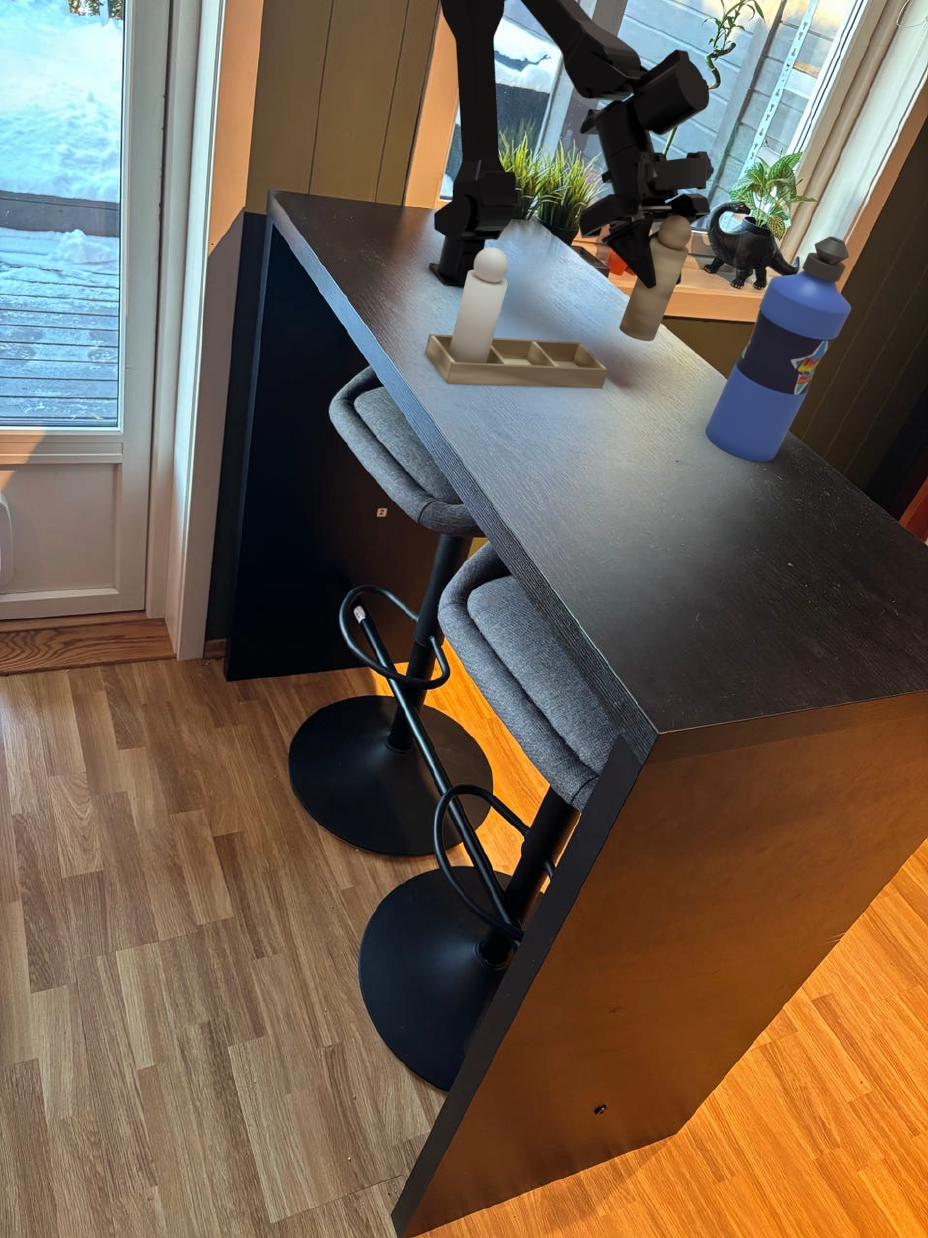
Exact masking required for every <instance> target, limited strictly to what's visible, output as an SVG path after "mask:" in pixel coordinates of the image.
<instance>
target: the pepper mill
mask: <svg viewBox="0 0 928 1238" xmlns="http://www.w3.org/2000/svg"><path fill="white" fill-rule="evenodd" d="M691 225H692V224H691ZM691 225H690V223H689V222H688V220H687V219H686V218H684V217H682V216H678V215H674V216H670V217H668V218H667V219H665V220H664V221H663V222H662V224H661V225H660V228H659V231H658V237H653V238H652V239H651V242H650V248H651V253H652V259H653V264H654V269H655V275H656V286H655V287H653V288H651V289H648V288H647V287H646V286H645V285H644V284H643V283H642V281H641V280H640V279H639V278H638V277H637V276H636V277H637V278H636V281H635V283H634V285H633V288H632V291H631V294H630V296H629V299H628V302H627V305H626V308H625V311H624V312H623V316H622V318H621V322H620V323H619V326H618V327H619V330H620V331H621V332H622V333H623V334H624V335H626V336H628V337H629V338H632V339H634V340H638V341H643V342H651V341H654V340H655V337H656V336H657V334H658V330H659V327H660V326H661V323H662V321H663V318H664V315H665V313H666V310H667V307H668V305H669V304H670V300H671V297H672V295H673V293H674V290H675V287H676V286H677V285H676V283H677V280H678V278H679V275H680V273H681V274H682V270H683V267H684V265H685V263H686V259H687V257H688V255H689V251H690V249H689V248H687V247H686V246H687V245H688V243H689V242H690V240H691V238H692V226H691ZM675 285H676V286H675Z"/></svg>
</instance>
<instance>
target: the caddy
mask: <svg viewBox="0 0 928 1238" xmlns="http://www.w3.org/2000/svg"><path fill="white" fill-rule="evenodd" d="M452 336H453V334H452V335H451V334H437V333H436V334H435V333H433V334H432V333H429V334H428V339H427V343H426V346H425V351H424V354H425V356H426V357H427V358H428V360H429V361H430V362H431V363H432V365H433V366H434V367H435V369H436V370H437V371H438V372H439V374H440V375H441V377H442V378H443V379H444V381H445V382H446V383H447V384H448V385H450V384H451V385H475V386H481V385H482V386H483V385H484V386H509V387H512V386H513V387H515V386H517V387H538V388H539V387H541V388H542V387H546V388H547V387H548V388H575V389H578V388H579V389H603V386H604V383H605V381H606V378H607V376H608V373H609V369H608V368H607V367H606V366H605V365H604V364H603V363H602V362H601V361H599V359H597V357H595V355H594V354H592V353H591V352H590V350H588V349H587V347H585V346H584V345H583V344H582V343H581V342H576V341H575V342H574V341H562V340H559V341H557V340H543V339H542V340H541V339H540V340H539V339H526V338H525V339H524V338H506V337H505V338H504V337H503V338H502V337H493V340H492V344H491V348H490V352H489V355H488V359H487V363H467V362H455V361H454V360H453V358H452V357H451V356H450V355H449V348H450V344H451V340H452Z"/></svg>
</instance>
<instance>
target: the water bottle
mask: <svg viewBox="0 0 928 1238" xmlns="http://www.w3.org/2000/svg"><path fill="white" fill-rule="evenodd" d="M814 247H815V248H814V249H815V252H809V253H807V256H806V258H805V261H804V263H803V265H802V271H800V272H798V273H797V274H789V275H779V276H774V277H772V278H771V279H770V281H769V283H768V286H767V288H766V289H765V291H764V295H763V297H762V299H761V302H760V304H759V307H758V308H759V310H758V313H757V316H756V320H755V323H754V327H753V328H752V330H751V331H752V332H751V334H750V338H749V341H748V343H747V344H746V346H745V348H744V349H743V351H742V352H741V353H740V356H739V357H738V359H737V360H736V362H735V364H734V366H733V368H732V369H731V372H730V374H729V377H728V379H727V381H726V383H725V385H724V388H722V389H723V390H722V392H721V394H720V397H719V398H718V401H717V403H716V405H715V407H714V409H713V412H712V414H711V417H710V418H709V421H708V423H707V425H706V427H705V435H706V437H707V439H708V440H710V442H712V443H713V445H714V446H716V447H717V448H719V449H721V450H722V451H724V452H725V453H728V454H729V455H732V456H734V457H737V458H739V459H742V460H747V461H750V462H751V461H752V462H758V463H759V462H760V463H766V462H770V461H772V460H774V459H775V457H776V455H777V454H778V451H779V450H780V447H781V446H782V443H783V441H784V439H785V438H786V436H787V434H788V432H789V430H790V427H791V426H792V424H793V422H794V420H795V417H796V416H797V414H798V411H799V410H800V408H801V406H802V404H803V402H804V400H805V397H806V395H807V394H808V391H809V389H810V385H811V383H812V379H813V376H814V373H815V370H816V367H817V366H818V365H819V364H820V362H821V360H822V358H823V357H824V355H825V353H827V350H828V349H829V347H830V346H831V345H832V343H833V341H834V340H835V339H836V338H838V336H839V334H840V333H841V330H842V328H843V326H844V325H845V322H846V320H847V318H848V316H849V314H850V312H851V311H852V306H851V305H850V302H849V301H847V299H846V298H845V297H844V296H843V295H842V294H841V292H840V291H839V290H838V288H837V284H836V282H839V281H840V280H841V277H842V275H843V273H844V271H845V269H846V264H844V263H843V261H844V260H846V259H848V258H849V257H850V255H849V252H848V249H847V245H846V243H845V241H844V240H843V239H841V238H838V237H834V236H828V237H826V238H823V239H821V240H819V241H818V242H816V243H814Z"/></svg>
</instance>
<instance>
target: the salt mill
mask: <svg viewBox="0 0 928 1238" xmlns="http://www.w3.org/2000/svg"><path fill="white" fill-rule="evenodd" d="M508 269H509V261H508V257H507V255H506V254H505V253H504V252H503V251H502V250H501V249H499V248H498V247H492V246H489V247H486V248H485V247H484V249H483V250H482V251H480V252H479V253H478V254H477V256H476V258H475V261H474V270H470V271H469V272H468V274H467V278H466V282H465V286H463V291H462V295H461V299H460V303H459V307H458V313H457V316H456V320H455V323H454V329H453V332H452V335H453V336H452V340H451V344H450V348H449V355H450V356H451V357H452V358H453V360H454V361H455V362H467V363H487V359H488V355H489V352H490V348H491V344H492V340H493V338H495V337H494V336H495V332H496V330H497V325H498V321H499V317H500V315H501V310H502V308H503V307H502V306H503V303H504V298H505V296H506V292H507V288H508V284H509V282H508V281H507V279H506V278H505V277H506V275H507V274H508V271H509V270H508Z"/></svg>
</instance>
